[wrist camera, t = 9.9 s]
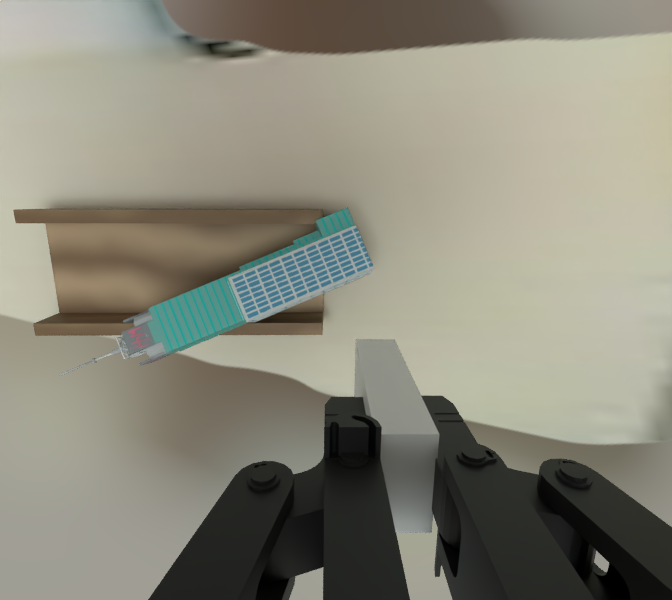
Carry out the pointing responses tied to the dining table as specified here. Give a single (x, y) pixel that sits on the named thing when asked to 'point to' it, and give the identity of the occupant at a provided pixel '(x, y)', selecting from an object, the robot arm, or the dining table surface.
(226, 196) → the dining table surface
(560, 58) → the dining table surface
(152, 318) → the building
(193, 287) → the tray
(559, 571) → the robot arm
